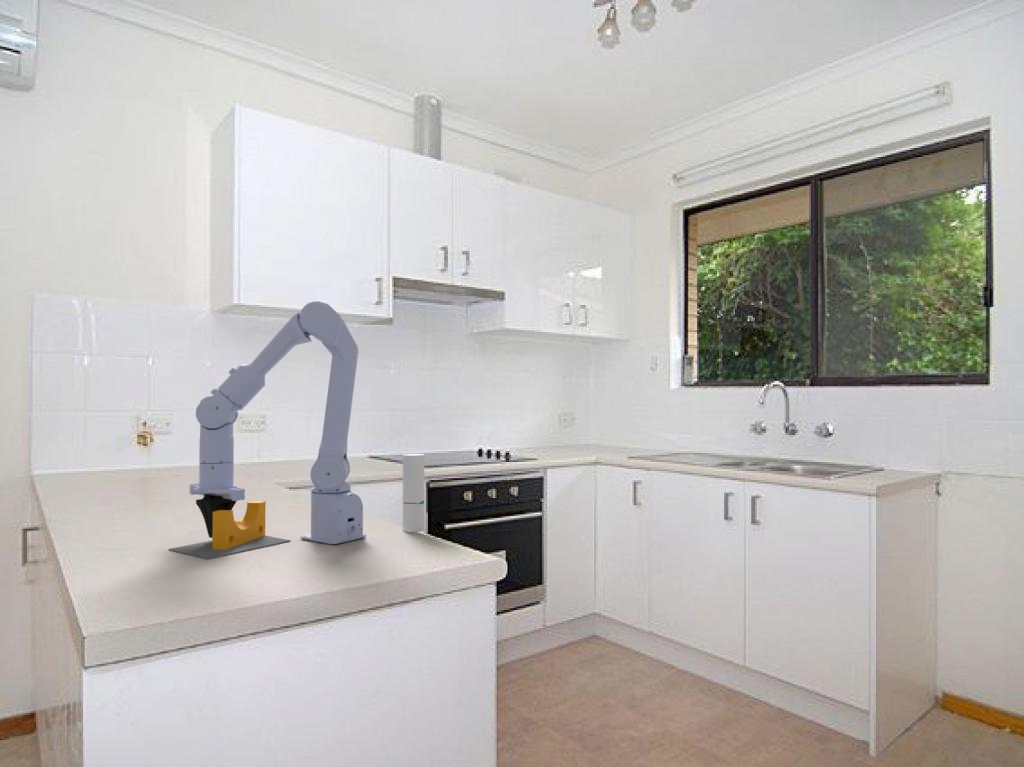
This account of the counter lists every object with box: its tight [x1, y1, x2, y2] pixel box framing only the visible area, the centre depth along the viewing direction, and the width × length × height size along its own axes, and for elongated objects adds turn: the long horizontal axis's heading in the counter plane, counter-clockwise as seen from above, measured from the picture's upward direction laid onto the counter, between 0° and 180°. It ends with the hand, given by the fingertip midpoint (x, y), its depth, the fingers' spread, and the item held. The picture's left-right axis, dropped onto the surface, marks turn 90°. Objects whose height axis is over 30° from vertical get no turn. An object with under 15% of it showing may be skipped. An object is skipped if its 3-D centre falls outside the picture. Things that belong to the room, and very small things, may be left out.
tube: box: [402, 453, 425, 533], centre depth 129 cm, size 4×4×15 cm
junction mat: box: [168, 535, 291, 560], centre depth 115 cm, size 12×16×1 cm
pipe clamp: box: [211, 500, 266, 550], centre depth 118 cm, size 12×4×6 cm, turn 169°
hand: (216, 536), depth 118 cm, fingers closed
